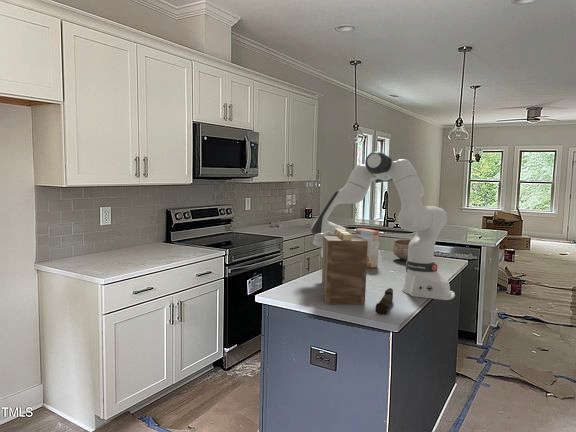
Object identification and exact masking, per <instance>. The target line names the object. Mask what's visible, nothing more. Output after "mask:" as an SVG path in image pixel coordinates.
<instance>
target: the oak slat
mask: <svg viewBox="0 0 576 432" xmlns="http://www.w3.org/2000/svg"><path fill="white" fill-rule="evenodd" d="M349 232H350V231H348V232H347V231H345V230H344V229H342V228H335V231H334V233H335V234H336V235H337V236H339V237H340V238H341V239H342V240H350V241H352V234H353V233H351V234H350V233H349Z"/></svg>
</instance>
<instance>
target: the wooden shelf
mask: <svg viewBox="0 0 576 432" xmlns="http://www.w3.org/2000/svg"><path fill="white" fill-rule="evenodd" d="M322 247H323V258H322V267H321V268H322V269H321V270H322V271H321V272H322V274H321V298H322V300H323V302H324V303H325V305H365V304H366V290H367V288H366V286H367V268H368V267H367V247H368V241H367V240H365V239H364V238H362V237H352V241H350V240H342V239H341V238H340V237H339V236H323V246H322Z"/></svg>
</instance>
